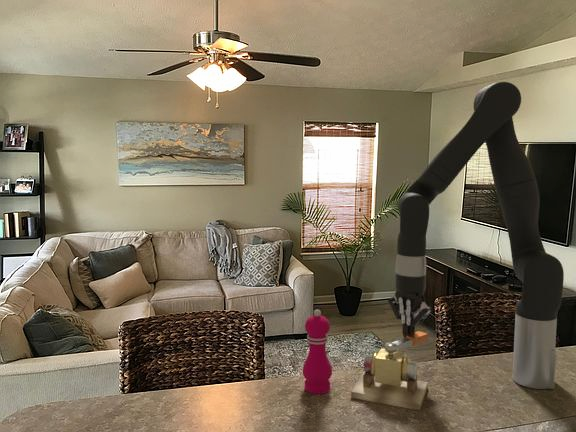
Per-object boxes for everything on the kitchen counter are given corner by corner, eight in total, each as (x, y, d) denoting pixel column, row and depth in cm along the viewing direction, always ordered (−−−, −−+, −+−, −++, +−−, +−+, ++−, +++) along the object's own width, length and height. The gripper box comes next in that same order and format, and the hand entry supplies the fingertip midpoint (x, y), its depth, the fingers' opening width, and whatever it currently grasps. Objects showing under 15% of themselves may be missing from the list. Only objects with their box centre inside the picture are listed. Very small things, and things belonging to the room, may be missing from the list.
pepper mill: (332, 382, 126) (332, 305, 124) (331, 395, 119) (332, 314, 117) (303, 381, 127) (303, 305, 125) (301, 394, 120) (301, 313, 117)
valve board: (427, 387, 123) (427, 370, 122) (420, 410, 112) (420, 391, 111) (363, 377, 129) (363, 360, 129) (351, 397, 118) (351, 379, 118)
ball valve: (417, 377, 121) (418, 350, 120) (413, 388, 115) (414, 360, 114) (368, 369, 125) (369, 343, 125) (362, 380, 119) (362, 353, 119)
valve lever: (427, 340, 126) (427, 333, 126) (391, 354, 117) (391, 347, 117) (418, 337, 128) (418, 331, 128) (382, 350, 120) (382, 343, 119)
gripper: (441, 274, 123) (438, 342, 125) (400, 265, 134) (398, 327, 136) (422, 279, 119) (419, 349, 121) (380, 268, 129) (379, 333, 131)
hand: (408, 337), depth 128 cm, fingers closed
